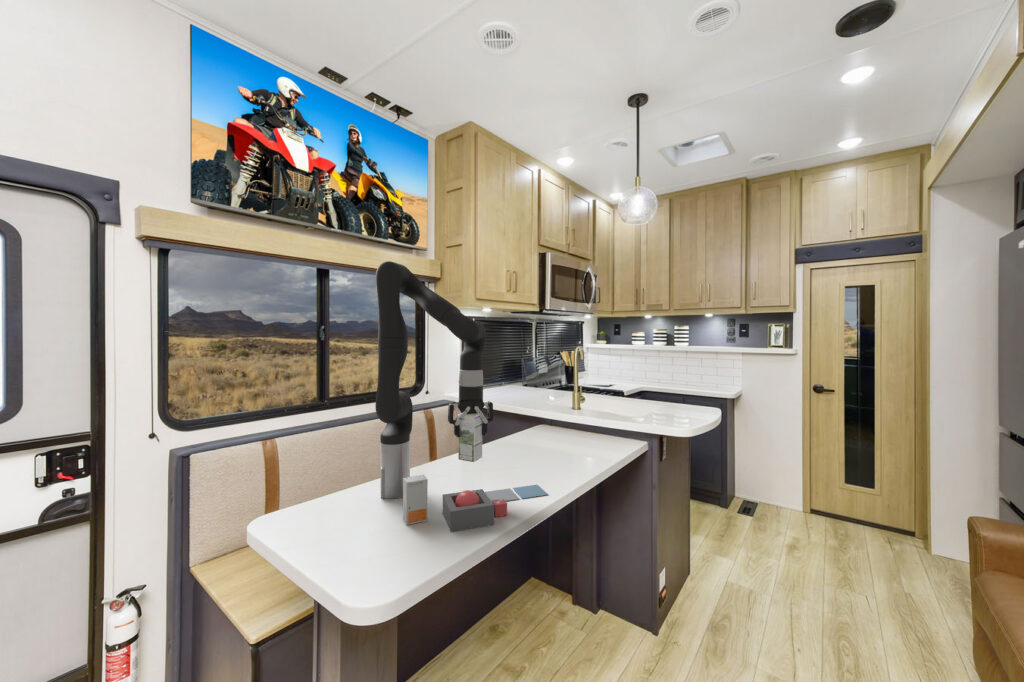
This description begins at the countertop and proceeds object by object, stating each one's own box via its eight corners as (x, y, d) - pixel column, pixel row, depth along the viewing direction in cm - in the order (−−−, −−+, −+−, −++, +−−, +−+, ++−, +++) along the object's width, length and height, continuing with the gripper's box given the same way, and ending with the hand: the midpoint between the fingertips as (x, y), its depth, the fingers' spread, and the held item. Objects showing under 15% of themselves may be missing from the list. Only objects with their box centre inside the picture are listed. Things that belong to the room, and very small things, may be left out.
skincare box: (406, 526, 110) (406, 482, 110) (402, 519, 114) (402, 477, 114) (428, 521, 113) (427, 478, 113) (424, 515, 117) (423, 474, 117)
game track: (458, 508, 121) (458, 507, 121) (452, 497, 130) (452, 496, 130) (548, 495, 131) (548, 494, 131) (537, 485, 140) (537, 484, 140)
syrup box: (482, 457, 129) (483, 411, 128) (473, 462, 123) (474, 415, 123) (467, 454, 131) (467, 410, 131) (457, 460, 126) (458, 413, 125)
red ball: (457, 523, 110) (457, 497, 110) (452, 512, 117) (452, 488, 117) (482, 519, 112) (482, 494, 112) (476, 508, 119) (476, 485, 119)
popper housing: (450, 532, 107) (450, 511, 107) (442, 513, 118) (442, 494, 118) (512, 521, 113) (512, 502, 113) (498, 504, 124) (498, 486, 124)
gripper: (450, 386, 121) (450, 440, 121) (496, 384, 125) (495, 437, 126) (446, 383, 128) (445, 434, 128) (489, 381, 132) (489, 431, 133)
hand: (470, 435), depth 127 cm, fingers closed on syrup box, 8 cm apart
